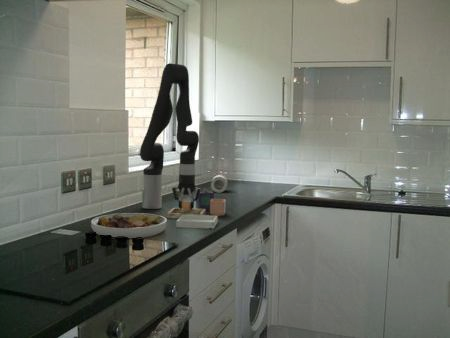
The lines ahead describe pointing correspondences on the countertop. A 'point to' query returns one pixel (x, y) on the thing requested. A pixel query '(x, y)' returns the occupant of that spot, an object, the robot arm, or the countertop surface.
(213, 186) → the toilet paper
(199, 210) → the corral
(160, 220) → the bowl
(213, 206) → the cup
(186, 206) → the ball
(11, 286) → the countertop surface
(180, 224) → the tray
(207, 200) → the flask
